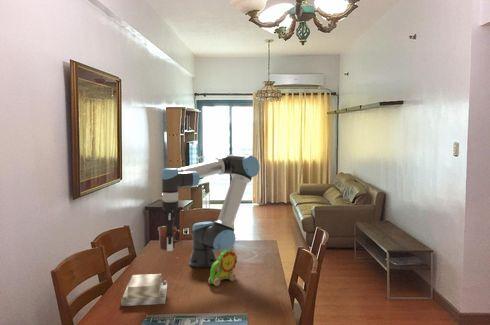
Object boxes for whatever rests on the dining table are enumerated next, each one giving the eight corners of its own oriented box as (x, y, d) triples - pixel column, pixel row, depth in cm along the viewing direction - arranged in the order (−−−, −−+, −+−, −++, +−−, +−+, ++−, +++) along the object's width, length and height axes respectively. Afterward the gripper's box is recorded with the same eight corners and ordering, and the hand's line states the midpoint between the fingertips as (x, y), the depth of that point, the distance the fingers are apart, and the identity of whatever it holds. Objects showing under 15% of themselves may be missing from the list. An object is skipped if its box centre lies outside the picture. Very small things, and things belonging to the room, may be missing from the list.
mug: (154, 250, 198) (154, 228, 197) (163, 245, 206) (163, 225, 205) (177, 252, 194) (176, 230, 193) (185, 248, 202) (185, 227, 201)
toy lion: (215, 287, 198) (214, 255, 196) (207, 284, 202) (207, 253, 200) (239, 278, 209) (239, 249, 208) (231, 276, 213) (231, 246, 211)
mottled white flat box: (167, 288, 197) (166, 272, 196) (164, 303, 179) (164, 286, 178) (127, 289, 194) (127, 274, 194) (121, 306, 177) (121, 288, 176)
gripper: (163, 197, 209) (163, 243, 210) (160, 204, 189) (160, 254, 190) (178, 197, 210) (179, 242, 211) (177, 204, 190) (177, 254, 191)
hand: (170, 248), depth 201 cm, fingers closed on mug, 7 cm apart
